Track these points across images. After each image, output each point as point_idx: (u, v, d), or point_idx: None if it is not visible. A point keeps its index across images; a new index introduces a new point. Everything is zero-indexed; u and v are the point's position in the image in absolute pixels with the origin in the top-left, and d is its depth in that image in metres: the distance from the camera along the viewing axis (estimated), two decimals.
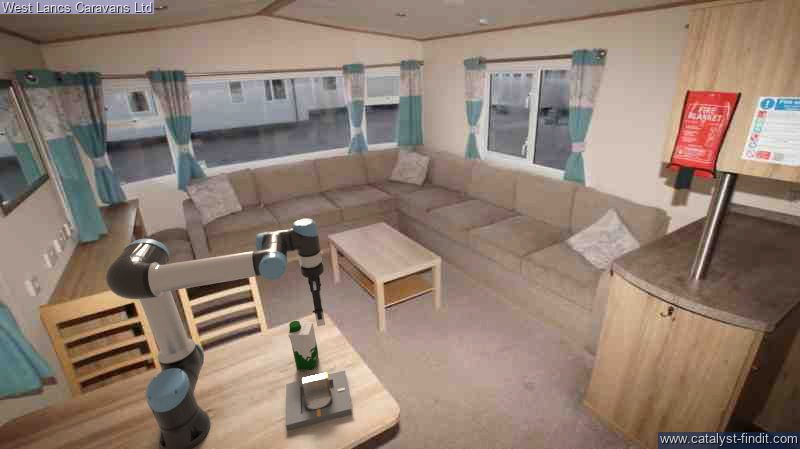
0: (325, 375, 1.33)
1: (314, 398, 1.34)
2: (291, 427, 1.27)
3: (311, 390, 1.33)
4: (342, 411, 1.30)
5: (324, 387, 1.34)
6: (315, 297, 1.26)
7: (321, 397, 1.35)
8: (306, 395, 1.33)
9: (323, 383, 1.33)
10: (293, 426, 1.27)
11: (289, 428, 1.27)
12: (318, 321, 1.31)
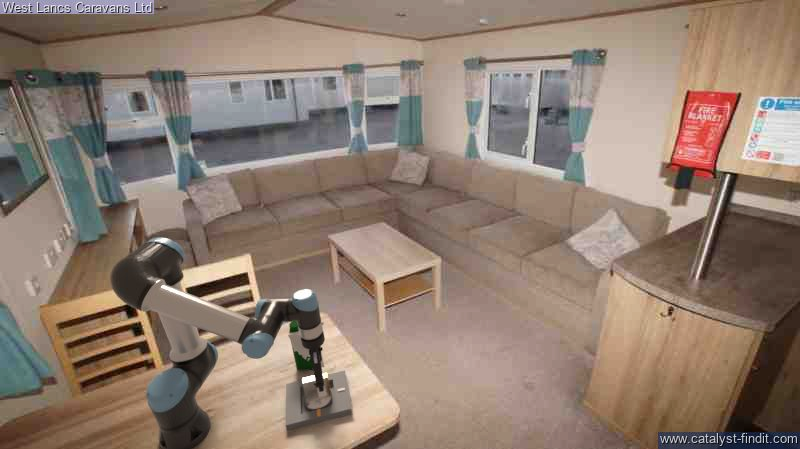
0: (325, 375, 1.33)
1: (314, 398, 1.34)
2: (291, 427, 1.27)
3: (311, 390, 1.33)
4: (342, 411, 1.30)
5: None
6: (316, 370, 1.21)
7: (321, 397, 1.35)
8: (306, 395, 1.33)
9: None
10: (293, 426, 1.27)
11: (289, 428, 1.27)
12: (319, 392, 1.26)
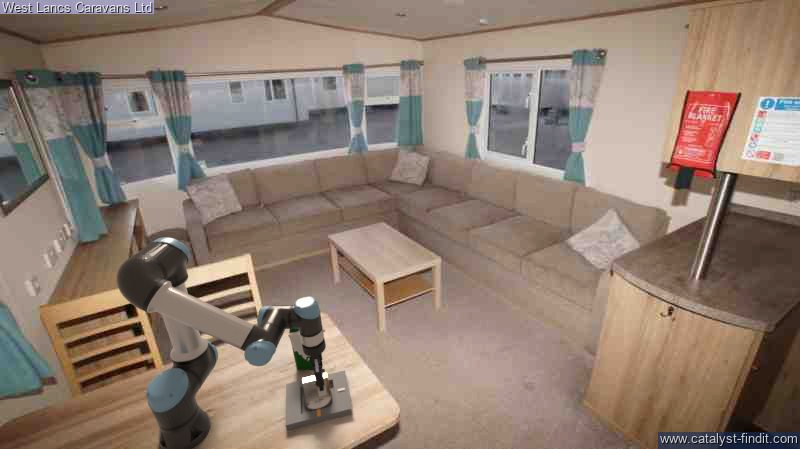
0: (325, 375, 1.33)
1: (314, 398, 1.34)
2: (291, 427, 1.27)
3: (311, 390, 1.33)
4: (342, 411, 1.30)
5: None
6: (317, 376, 1.26)
7: (321, 397, 1.35)
8: (306, 395, 1.33)
9: None
10: (293, 426, 1.27)
11: (289, 428, 1.27)
12: (320, 392, 1.33)
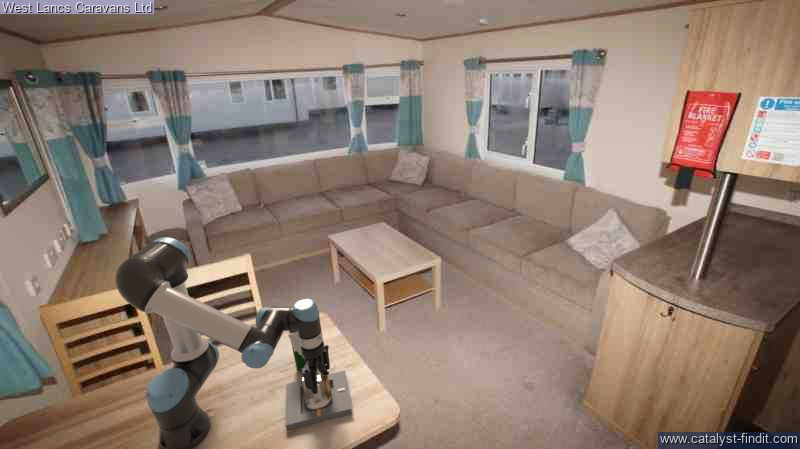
0: (325, 378, 1.32)
1: (313, 397, 1.35)
2: (291, 427, 1.27)
3: None
4: (342, 411, 1.30)
5: (323, 389, 1.33)
6: (305, 378, 1.25)
7: None
8: (305, 392, 1.34)
9: (322, 385, 1.32)
10: (293, 426, 1.27)
11: (289, 428, 1.27)
12: (315, 393, 1.32)
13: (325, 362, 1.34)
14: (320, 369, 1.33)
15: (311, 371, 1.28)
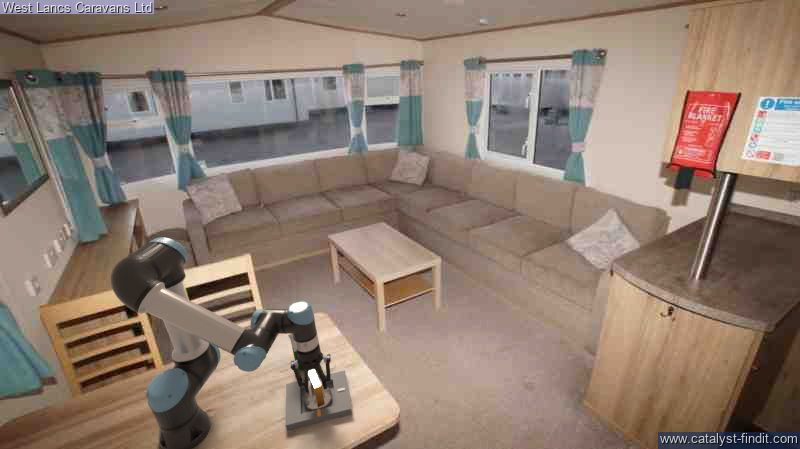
0: (317, 385, 1.29)
1: (313, 394, 1.36)
2: (291, 427, 1.27)
3: (311, 384, 1.35)
4: (342, 411, 1.30)
5: (314, 394, 1.31)
6: None
7: (315, 399, 1.34)
8: None
9: (313, 389, 1.30)
10: (293, 426, 1.27)
11: (289, 428, 1.27)
12: None
13: (326, 372, 1.30)
14: None
15: None
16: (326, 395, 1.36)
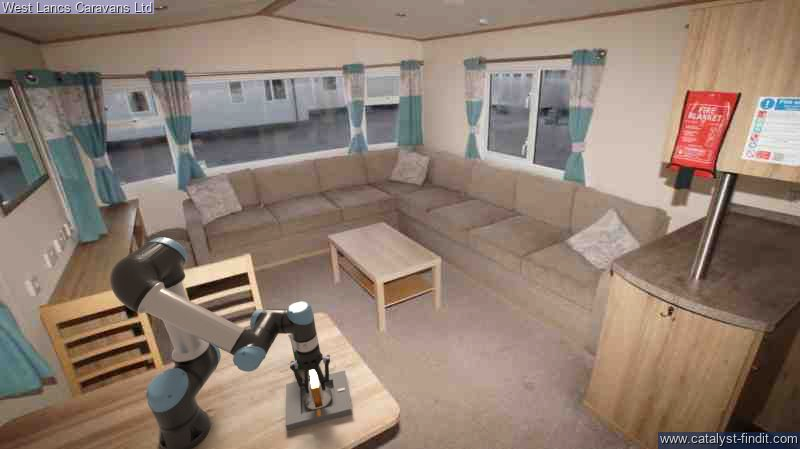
0: (314, 386, 1.29)
1: None
2: (291, 427, 1.27)
3: None
4: (342, 411, 1.30)
5: None
6: None
7: (314, 399, 1.34)
8: None
9: None
10: (293, 426, 1.27)
11: (289, 428, 1.27)
12: None
13: (325, 373, 1.29)
14: None
15: None
16: (326, 396, 1.36)
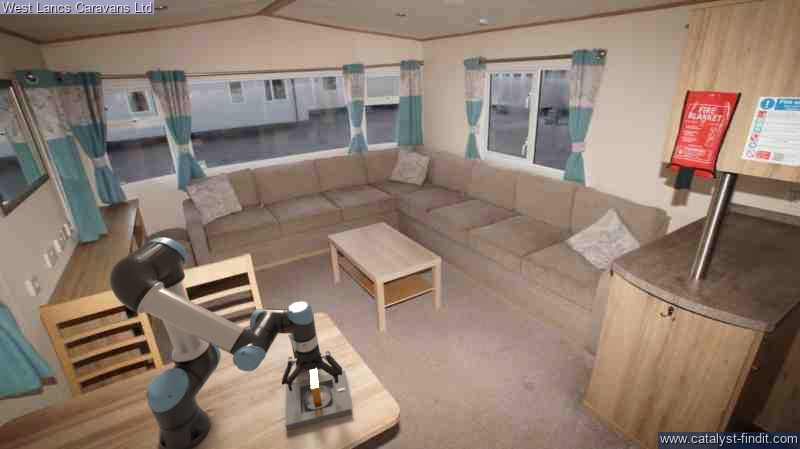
0: (314, 386, 1.29)
1: None
2: (291, 427, 1.27)
3: None
4: (342, 411, 1.30)
5: None
6: (286, 369, 1.27)
7: None
8: None
9: None
10: (293, 426, 1.27)
11: (289, 428, 1.27)
12: None
13: None
14: None
15: (297, 368, 1.27)
16: (326, 397, 1.36)
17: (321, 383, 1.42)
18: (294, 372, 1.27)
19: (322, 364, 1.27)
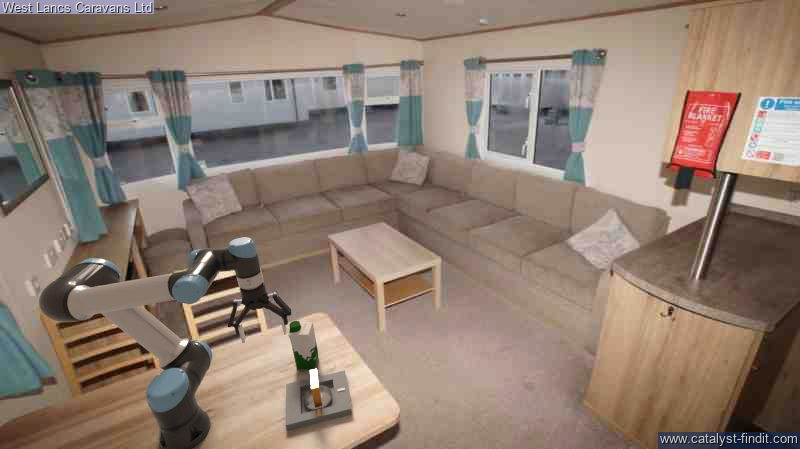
0: (314, 386, 1.29)
1: None
2: (291, 427, 1.27)
3: None
4: (342, 411, 1.30)
5: None
6: (232, 310, 1.23)
7: None
8: None
9: None
10: (293, 426, 1.27)
11: (289, 428, 1.27)
12: None
13: None
14: None
15: (243, 310, 1.24)
16: (326, 397, 1.36)
17: (321, 383, 1.42)
18: (240, 314, 1.24)
19: (269, 304, 1.25)
